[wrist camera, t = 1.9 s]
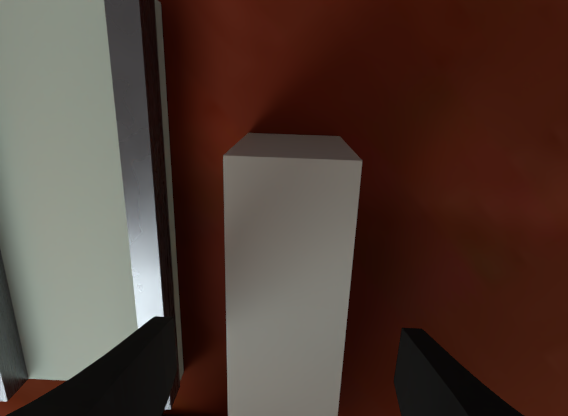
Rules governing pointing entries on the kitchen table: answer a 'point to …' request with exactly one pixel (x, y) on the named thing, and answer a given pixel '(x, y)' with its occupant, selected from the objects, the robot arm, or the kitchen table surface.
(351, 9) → the kitchen table surface
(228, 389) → the clay bar
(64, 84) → the rack
